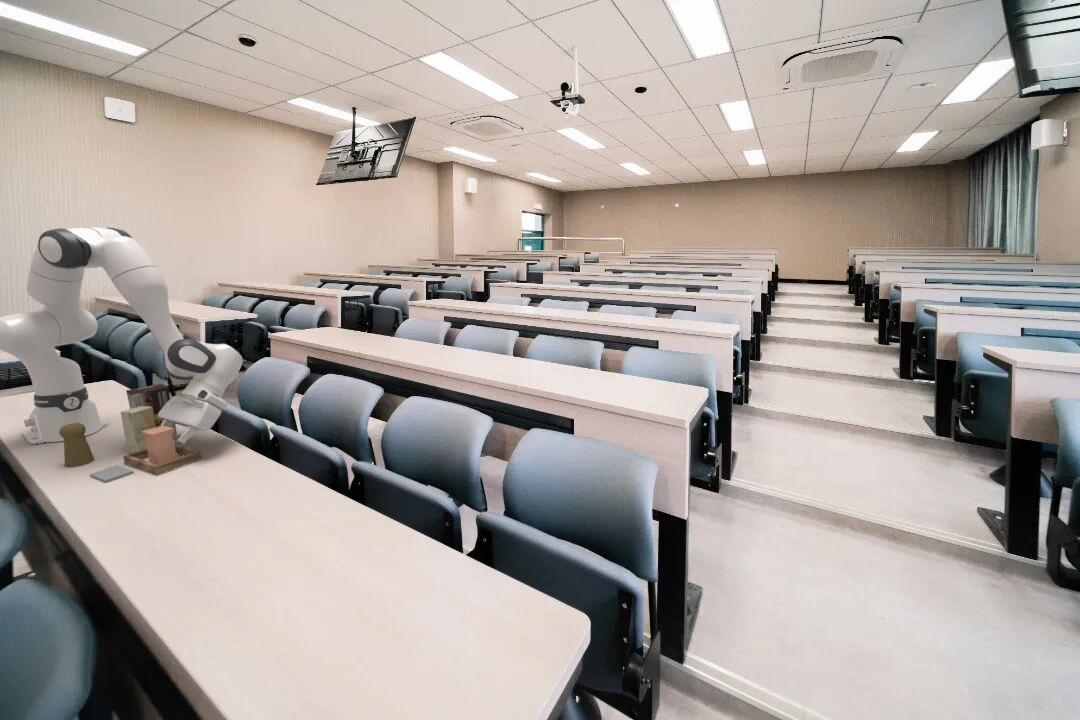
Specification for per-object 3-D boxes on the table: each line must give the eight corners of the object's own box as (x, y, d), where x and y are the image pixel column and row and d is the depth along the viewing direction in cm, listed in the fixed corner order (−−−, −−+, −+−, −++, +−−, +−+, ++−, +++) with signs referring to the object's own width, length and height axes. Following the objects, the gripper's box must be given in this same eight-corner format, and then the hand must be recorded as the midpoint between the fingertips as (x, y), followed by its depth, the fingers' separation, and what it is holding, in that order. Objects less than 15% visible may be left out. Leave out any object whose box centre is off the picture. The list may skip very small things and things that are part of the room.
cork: (63, 462, 136) (54, 424, 133) (93, 456, 140) (84, 419, 138) (65, 469, 132) (56, 430, 129) (95, 462, 136) (87, 424, 134)
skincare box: (139, 453, 141) (130, 413, 139) (127, 452, 142) (118, 412, 140) (160, 445, 148) (153, 406, 145) (148, 443, 149) (141, 404, 146)
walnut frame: (124, 463, 135) (123, 456, 135) (168, 449, 145) (167, 441, 144) (157, 475, 128) (155, 467, 128) (201, 459, 138) (200, 451, 137)
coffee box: (171, 431, 158) (162, 383, 154) (178, 436, 154) (169, 386, 151) (135, 440, 151) (125, 389, 148) (141, 445, 147) (131, 393, 144)
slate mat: (90, 476, 128) (89, 474, 128) (117, 467, 133) (117, 465, 133) (106, 482, 124) (105, 480, 124) (133, 473, 129) (133, 470, 129)
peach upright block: (147, 463, 135) (141, 431, 133) (168, 456, 140) (162, 425, 138) (158, 466, 133) (152, 434, 131) (179, 459, 138) (173, 428, 136)
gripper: (170, 386, 146) (138, 428, 139) (213, 395, 137) (181, 440, 131) (189, 396, 151) (159, 437, 144) (231, 405, 142) (201, 450, 135)
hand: (170, 439), depth 137 cm, fingers open, 8 cm apart
